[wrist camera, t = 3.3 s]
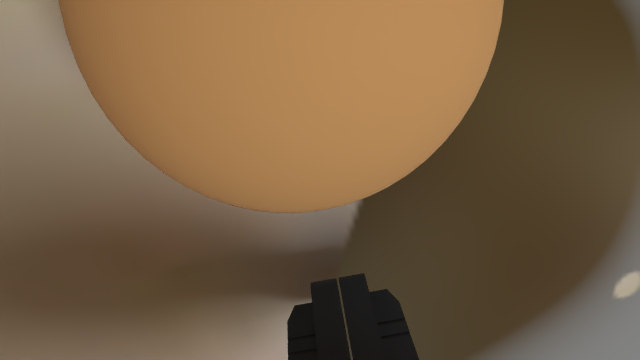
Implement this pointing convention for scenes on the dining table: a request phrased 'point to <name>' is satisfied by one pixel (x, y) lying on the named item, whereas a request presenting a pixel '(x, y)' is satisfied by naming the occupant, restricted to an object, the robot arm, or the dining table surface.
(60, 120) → the dining table surface
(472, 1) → the ball
